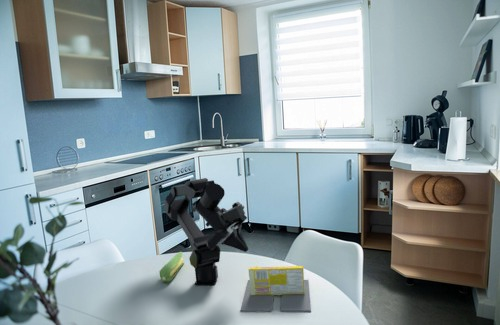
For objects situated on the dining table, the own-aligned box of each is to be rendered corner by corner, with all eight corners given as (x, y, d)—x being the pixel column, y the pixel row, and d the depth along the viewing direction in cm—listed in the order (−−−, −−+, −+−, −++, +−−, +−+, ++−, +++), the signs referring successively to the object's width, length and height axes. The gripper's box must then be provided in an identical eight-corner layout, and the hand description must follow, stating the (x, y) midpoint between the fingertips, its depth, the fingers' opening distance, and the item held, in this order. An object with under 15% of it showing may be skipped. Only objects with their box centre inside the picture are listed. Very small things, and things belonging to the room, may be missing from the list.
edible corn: (154, 273, 121) (166, 269, 120) (175, 250, 141) (186, 247, 140) (159, 287, 122) (171, 284, 121) (180, 263, 141) (191, 260, 140)
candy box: (304, 291, 111) (303, 265, 109) (304, 294, 109) (303, 268, 107) (251, 291, 112) (249, 266, 111) (250, 295, 110) (248, 269, 109)
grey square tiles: (240, 311, 103) (240, 310, 103) (248, 281, 120) (247, 280, 120) (310, 311, 101) (310, 310, 100) (308, 280, 118) (308, 279, 118)
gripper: (212, 205, 102) (252, 246, 100) (239, 189, 119) (273, 223, 117) (191, 230, 107) (228, 270, 104) (219, 211, 124) (252, 245, 121)
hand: (247, 250), depth 111 cm, fingers closed
